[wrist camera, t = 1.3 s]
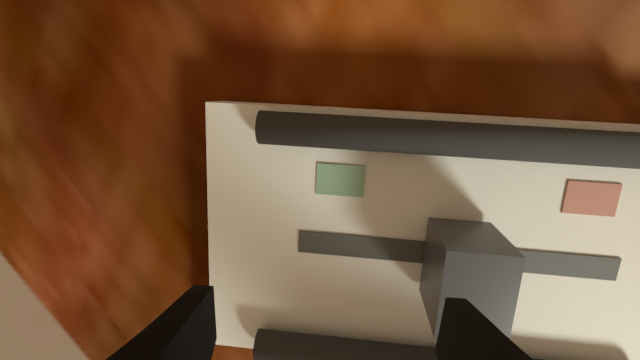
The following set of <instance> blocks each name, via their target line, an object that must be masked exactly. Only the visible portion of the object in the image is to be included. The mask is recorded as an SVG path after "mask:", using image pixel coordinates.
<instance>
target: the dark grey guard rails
mask: <svg viewBox="0 0 640 360" xmlns="http://www.w3.org/2000/svg"><path fill="white" fill-rule="evenodd" d="M255 136H256V141H257V143H258V144H268V145H283V146H298V147H313V148H328V149H343V150H359V151H374V152H389V153H404V154H419V155H434V156H449V157H464V158H479V159H494V160H510V161H525V162H540V163H555V164H570V165H585V166H600V167H615V168H630V169H640V132H625V131H608V130H591V129H574V128H557V127H539V126H522V125H505V124H488V123H471V122H453V121H436V120H419V119H402V118H385V117H367V116H350V115H333V114H316V113H299V112H281V111H264V110H259V111H258V113H257V116H256V122H255ZM253 358H254V360H438V359H437V354H436V350H435V348H433V347H424V346H415V345H406V344H397V343H388V342H379V341H370V340H361V339H352V338H343V337H334V336H325V335H315V334H306V333H297V332H288V331H279V330H270V329H261V328H259V329H258V330H257V333H256V336H255V341H254V347H253ZM532 359H533V358H532ZM533 360H542V359H533Z"/></svg>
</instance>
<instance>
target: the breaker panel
mask: <svg viewBox="0 0 640 360" xmlns="http://www.w3.org/2000/svg"><path fill="white" fill-rule="evenodd" d="M259 110H264V111H281V112H299V113H316V114H333V115H350V116H367V117H385V118H402V119H419V120H436V121H453V122H471V123H488V124H505V125H522V126H539V127H557V128H574V129H591V130H608V131H625V132H640V124H628V123H610V122H593V121H575V120H557V119H539V118H522V117H504V116H486V115H469V114H451V113H433V112H415V111H398V110H380V109H362V108H344V107H327V106H309V105H291V104H273V103H256V102H238V101H212V102H205V111H206V156H207V201H208V246H209V286H214V302H215V318H216V334H217V339H216V343H215V344H217V345H226V346H234V347H243V348H252V349H253V347H254V341H255V336H256V333H257V330H258V329H259V328H261V329H270V330H279V331H288V332H297V333H306V334H315V335H325V336H334V337H343V338H352V339H361V340H370V341H379V342H388V343H397V344H406V345H415V346H424V347H433V348H435V347H436V342H437V339H434V337H433V334H432V330H431V327H430V324H429V320H428V317H427V314H426V310H425V307H424V304H423V300H422V297H421V294H420V291H419V287H420V279H421V271H422V263H423V255H424V248H425V240H426V232H427V224H428V217H432V218H444V219H457V220H469V221H482V222H491V223H492V224H493V225H494V226H495V227H496V228H497V229H498V230H499V231H500V232H501V233H502V234H503V235H504V236H505V237H506V238H507V239H508V240H509V241H510V242H511V243H512V244H513V245H514V246H515V247H516V248H517V249H518V250H519V251H520V252H521V253H522V254H523V255H524V256H525V257H526V259H525V264H524V269H523V274H522V279H521V285H520V290H519V295H518V300H517V305H516V310H515V315H514V320H513V325H512V330H511V335H510V340H511V341H512V342H514V343H515V344H516V345H517V346H518V347H519V348H520V349H521V350H523V351H524V352H525V353H526V354H527V355H528V356H530V357H531V358H533V359H542V360H640V169H630V168H615V167H600V166H585V165H570V164H555V163H540V162H525V161H510V160H494V159H479V158H464V157H449V156H434V155H419V154H404V153H389V152H374V151H359V150H343V149H328V148H313V147H298V146H283V145H268V144H258V143H257V141H256V136H255V122H256V116H257V113H258V111H259Z"/></svg>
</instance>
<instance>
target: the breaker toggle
mask: <svg viewBox="0 0 640 360" xmlns="http://www.w3.org/2000/svg"><path fill="white" fill-rule="evenodd" d="M525 259H526V257H525V256H524V255H523V254H522V253H521V252H520V251H519V250H518V249H517V248H516V247H515V246H514V245H513V244H512V243H511V242H510V241H509V240H508V239H507V238H506V237H505V236H504V235H503V234H502V233H501V232H500V231H499V230H498V229H497V228H496V227H495V226H494V225H493V224H492V223H491V222H482V221H469V220H457V219H444V218H432V217H428V224H427V232H426V240H425V248H424V255H423V263H422V271H421V279H420V287H419V291H420V294H421V297H422V300H423V304H424V307H425V310H426V314H427V317H428V320H429V324H430V327H431V330H432V334H433V337H434V339H437V338H438V333H439V328H440V323H441V318H442V313H443V308H444V304H445V299H446V297H450V298H466V299H467V300H468V301H469V302H470V303H471V304H473V305H474V306H475V307H476V308H477V309H478V310H479V311H480V312H481V313H482V314H483V315H484V316H485V317H486V318H488V319H489V320H490V321H491V322H492V323H493V324H494V325H495V326H496V327H497V328H498V329H499V330H500V331H502V332H503V333H504V334H505V335H506V336H507V337H508V338H509V339H510V335H511V330H512V325H513V320H514V315H515V310H516V305H517V300H518V295H519V290H520V285H521V279H522V274H523V269H524V264H525Z"/></svg>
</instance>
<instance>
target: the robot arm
mask: <svg viewBox="0 0 640 360" xmlns="http://www.w3.org/2000/svg"><path fill="white" fill-rule="evenodd" d="M216 339H217V334H216V318H215V302H214V286H207V285H193V286H192V287H191V288H190V289H188V290H187V291H186V292H185V293H184V294H183V295H182V296H181V297H180V298H179V299H177V300H176V301H175V302H174V303H173V304H172V305H171V306H170V307H169V308H168V309H166V310H165V311H164V312H163V313H162V314H161V315H160V316H159V317H157V318H156V319H155V320H154V321H153V322H152V323H151V324H149V325H148V326H147V327H146V328H145V329H144V330H143V331H141V332H140V333H139V334H138V335H137V336H135V337H134V338H133V339H132V340H130V341H129V342H128V343H127V344H125V345H124V346H123V347H122V348H120V349H119V350H118V351H116V352H115V353H114V354H113V355H111V356H110V357H109V358H107V359H106V360H211V358H212V354H213V350H214V347H215V343H216ZM435 350H436V354H437V359H438V360H533V359H532V358H531V357H530V356H528V355H527V354H526V353H525V352H524V351H523V350H521V349H520V348H519V347H518V346H517V345H516V344H515V343H514V342H512V341H511V340H510V339H509V338H508V337H507V336H506V335H505V334H504V333H503V332H502V331H500V330H499V329H498V328H497V327H496V326H495V325H494V324H493V323H492V322H491V321H490V320H489V319H488V318H486V317H485V316H484V315H483V314H482V313H481V312H480V311H479V310H478V309H477V308H476V307H475V306H474V305H473V304H471V303H470V302H469V301H468V300H467V299H466V298H450V297H446V299H445V304H444V308H443V313H442V318H441V323H440V328H439V333H438V338H437V342H436V347H435Z"/></svg>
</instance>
